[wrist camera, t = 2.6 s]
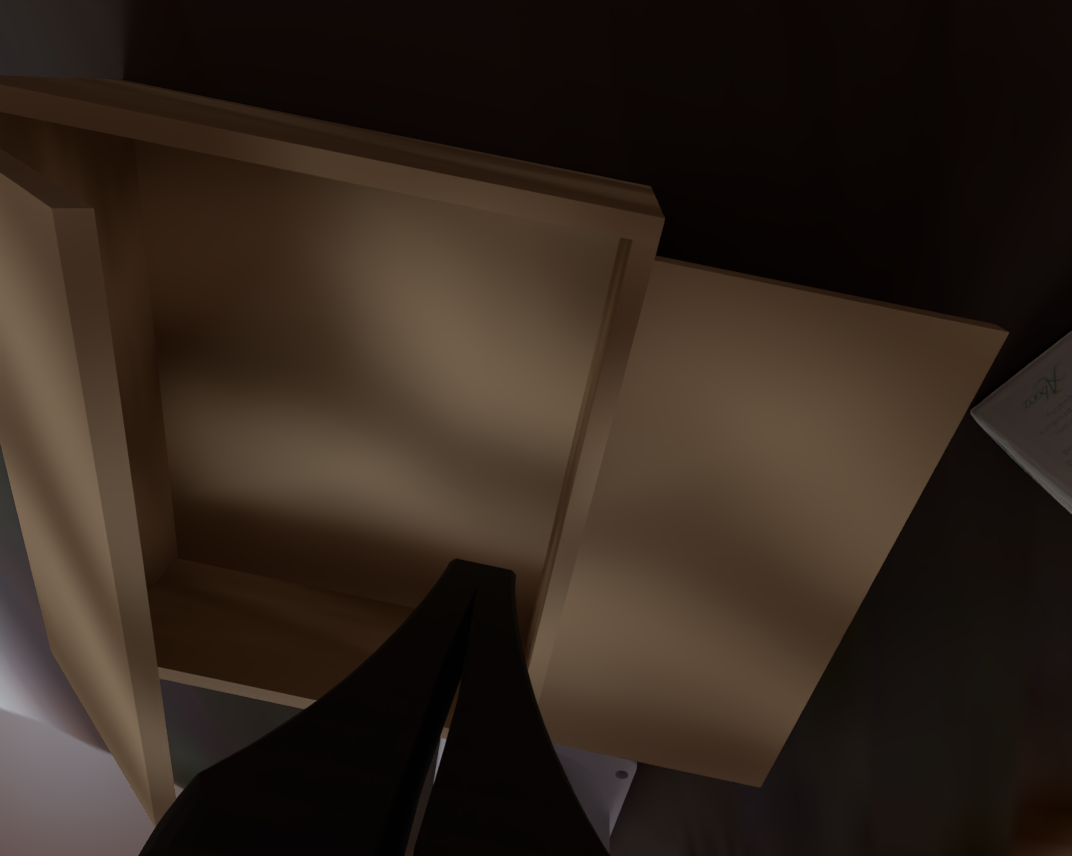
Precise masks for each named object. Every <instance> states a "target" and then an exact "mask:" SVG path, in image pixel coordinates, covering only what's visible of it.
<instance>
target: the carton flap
mask: <svg viewBox="0 0 1072 856" xmlns="http://www.w3.org/2000/svg"><path fill="white" fill-rule="evenodd" d="M0 443H1V448H2V452H3V456H4V460H5V464H6V468H7V472H8V476H9V480H10V484H11V488H12V493H13V497H14V501H15V505H16V509H17V513H18V517H19V521H20V525H21V529H22V534H23V538H24V542H25V546H26V550H27V554H28V558H29V562H30V566H31V570H32V575H33V579H34V583H35V587H36V591H37V595H38V599H39V603H40V607H41V611H42V615H43V620H44V624H45V628H46V632H47V636H48V640H49V644H50V648H51V652H52V654H53V655H54V657H55V659H56V660H57V662H58V664H59V665H60V667H61V669H62V671H63V672H64V674H65V676H66V677H67V679H68V681H69V682H70V684H71V686H72V687H73V689H74V691H75V693H76V694H77V696H78V698H79V699H80V701H81V703H82V704H83V706H84V708H85V709H86V711H87V713H88V715H89V716H90V718H91V720H92V721H93V723H94V725H95V726H96V728H97V730H98V731H99V733H100V735H101V737H102V738H103V740H104V742H105V743H106V745H107V747H108V748H109V750H110V752H111V753H112V755H113V757H114V758H115V760H116V762H117V764H118V765H119V767H120V768H121V770H122V772H123V774H124V775H125V777H126V779H127V780H128V782H129V784H130V785H131V787H132V789H133V790H134V792H135V794H136V796H137V797H138V799H139V801H140V802H141V804H142V806H143V807H144V809H145V811H146V813H147V814H148V816H149V818H150V819H151V821H152V823H153V825H154V826H155V827H156V825H157V824H158V822H159V821H160V820H161V818H162V817H163V815H164V814H165V813H166V811H167V810H168V809H169V808H170V806H171V805H172V804H173V803H174V801H175V800H176V796H175V789H174V781H173V774H172V767H171V760H170V753H169V745H168V738H167V731H166V724H165V717H164V709H163V702H162V695H161V688H160V681H159V673H158V666H157V659H156V652H155V645H154V637H153V630H152V623H151V616H150V609H149V601H148V594H147V587H146V580H145V573H144V566H143V558H142V551H141V544H140V537H139V530H138V522H137V515H136V508H135V501H134V494H133V486H132V479H131V472H130V465H129V458H128V450H127V443H126V436H125V429H124V422H123V414H122V407H121V400H120V393H119V386H118V378H117V371H116V364H115V357H114V350H113V342H112V335H111V328H110V321H109V314H108V306H107V299H106V292H105V285H104V278H103V270H102V263H101V256H100V249H99V242H98V235H97V227H96V220H95V213H94V208H93V207H91V206H90V205H88V204H87V203H85V202H84V201H82V200H80V199H79V198H77V197H76V196H74V195H73V194H71V193H69V192H68V191H66V190H65V189H63V188H62V187H60V186H58V185H57V184H55V183H54V182H52V181H51V180H49V179H48V178H46V177H44V176H43V175H41V174H40V173H38V172H37V171H35V170H33V169H32V168H30V167H29V166H27V165H26V164H24V163H22V162H21V161H19V160H18V159H16V158H15V157H13V156H11V155H10V154H8V153H7V152H5V151H4V150H2V149H1V148H0Z"/></svg>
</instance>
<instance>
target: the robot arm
mask: <svg viewBox="0 0 1072 856" xmlns="http://www.w3.org/2000/svg"><path fill="white" fill-rule="evenodd" d="M515 582H516V575H515V573H514V572H513V571H512V570H509V569H504V568H500V567H495V566H490V565H485V564H481V563H476V562H471V561H466V560H462V559H457V558H456V559H454V560H452V561H450V563H449V564H448V566H447V568H446V569H445V571H444V572H443V574H442V575H441V577H440V578H439V580H438V581H437V583H436V584H435V585H434V587H433V588H432V589H431V590H430V592H429V593H428V594H427V596H426V597H425V598H424V599H423V601H422V602H421V603H420V604H419V605H418V606H417V608H416V609H415V610H414V611H413V612H412V613H411V615H410V616H409V617H408V618H407V619H406V620H405V621H404V622H403V624H402V625H401V626H400V627H399V628H398V629H397V630H396V631H395V632H394V633H393V634H392V635H391V636H390V637H389V638H388V639H387V640H386V641H385V642H384V643H383V644H382V645H381V646H380V647H379V648H378V649H377V650H376V651H375V652H374V653H373V654H372V655H371V656H370V657H369V658H368V659H366V660H365V661H364V662H363V663H362V664H361V665H360V666H359V667H358V668H356V669H355V670H354V671H353V672H352V673H351V674H349V675H348V676H347V677H346V678H345V679H343V680H342V681H341V682H340V683H338V684H337V685H336V686H335V687H333V688H332V689H331V690H329V691H328V692H327V693H326V694H324V695H323V696H322V697H320V698H319V699H318V700H317V701H315V702H314V703H313V704H311V705H310V706H308V707H307V708H306V709H304V710H303V711H301V712H300V713H299V714H297V715H295V716H294V717H292V718H291V719H289V720H288V721H286V722H285V723H283V724H282V725H280V726H279V727H277V728H276V729H274V730H272V731H271V732H269V733H268V734H266V735H265V736H263V737H262V738H260V739H258V740H257V741H255V742H254V743H252V744H250V745H249V746H247V747H245V748H243V749H241V750H239V751H238V752H236V753H234V754H232V755H230V756H229V757H227V758H225V759H223V760H221V761H220V762H218V763H216V764H214V765H212V766H211V767H209V768H207V769H205V770H203V771H201V772H199V773H198V774H197V775H196V776H195V777H194V778H193V779H192V781H191V782H190V783H189V784H188V785H187V786H186V788H185V789H184V790H183V791H182V792H181V794H180V795H179V796H178V797H177V799H176V800H175V801H174V803H173V804H172V805H171V806H170V808H169V809H168V810H167V811H166V813H165V814H164V815H163V817H162V818H161V820H160V821H159V822H158V824H157V825H156V827H155V829H154V831H153V832H152V834H151V836H150V837H149V839H148V841H147V842H146V844H145V845H144V847H143V849H142V851H141V852H140V854H139V855H138V856H404V855H405V851H406V848H407V844H408V840H409V836H410V832H411V828H412V824H413V821H414V817H415V813H416V809H417V805H418V801H419V798H420V795H421V791H422V788H423V785H424V782H425V779H426V775H427V773H428V770H429V767H430V764H431V761H432V759H433V756H434V753H435V750H436V747H437V744H438V742H439V739H440V736H441V733H442V730H443V727H444V725H445V722H446V719H447V716H448V713H449V711H450V708H451V705H452V702H453V699H454V696H455V693H456V691H457V688H458V685H459V682H460V686H459V693H458V699H457V703H456V707H455V710H454V714H453V717H452V721H451V725H450V728H449V732H448V735H447V739H444V738H441V740H440V746H439V752H438V758H437V765H436V771H435V777H434V783H433V788H432V791H431V794H430V798H429V801H428V804H427V808H426V811H425V814H424V818H423V821H422V824H421V828H420V831H419V834H418V837H417V841H416V844H415V848H414V855H413V856H610V835H611V833H612V830H613V828H614V825H615V823H616V820H617V818H618V815H619V812H620V810H621V807H622V805H623V802H624V800H625V797H626V795H627V792H628V790H629V787H630V785H631V782H632V779H633V777H634V774H635V772H636V769H637V761H633V760H628V759H623V758H618V757H614V756H609V755H604V754H600V753H595V752H590V751H585V750H581V749H576V748H571V747H566V746H562V745H557V744H552V742H551V739H550V737H549V734H548V732H547V729H546V727H545V724H544V721H543V718H542V715H541V712H540V710H539V707H538V704H537V701H536V697H535V694H534V691H533V687H532V684H531V680H530V676H529V673H528V669H527V665H526V661H525V656H524V652H523V647H522V642H521V636H520V631H519V625H518V618H517V609H516V597H515ZM460 679H461V680H460Z"/></svg>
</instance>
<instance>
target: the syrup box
mask: <svg viewBox="0 0 1072 856" xmlns="http://www.w3.org/2000/svg"><path fill="white" fill-rule="evenodd" d="M970 413H971V415H972V416H973V417H974V419H975V420H976V422H977V423H978V424H979V425H980V426H981V427H982V428H983V429H984V430H985V431H986V432H987V433H988V434H989V435H990V436H991V437H992V438H993V439H994V440H995V441H996V442H997V443H998V445H999V446H1000V447H1001V448H1002V449H1003V450H1004V451H1005V452H1006V453H1007V454H1008V455H1009V456H1010V457H1011V458H1012V459H1013V460H1014V461H1015V462H1016V463H1017V464H1018V465H1019V466H1020V467H1021V468H1022V469H1023V470H1024V471H1026V472H1027V473H1028V474H1029V475H1030V476H1031V477H1032V478H1033V479H1034V480H1035V481H1036V482H1038V483H1039V484H1040V485H1041V486H1042V487H1043V488H1044V489H1045V490H1046V491H1047V492H1048V493H1049V494H1050V495H1051V496H1052V497H1053V498H1055V499H1056V500H1057V501H1058V502H1059V503H1060V504H1061V505H1062V506H1063V507H1065V508H1066V509H1067V510H1068V511H1069V512H1070V513H1071V514H1072V331H1071V332H1069V333H1068V334H1067V335H1065V336H1064V337H1063V338H1061V339H1060V340H1059V341H1057V342H1056V343H1055V344H1054V345H1053V346H1051V347H1050V348H1049V349H1047V350H1046V351H1045V352H1044V353H1042V354H1041V355H1040V356H1038V357H1037V358H1036V359H1035V360H1033V361H1032V362H1031V363H1029V364H1028V365H1027V366H1026V367H1024V368H1023V369H1022V370H1021V371H1019V372H1018V373H1017V374H1016V375H1014V376H1013V377H1012V378H1011V379H1009V380H1008V381H1007V382H1006V383H1004V384H1003V385H1002V386H1000V387H999V388H998V389H996V390H995V391H994V392H993V393H991V394H990V395H989V396H988V397H986V398H985V399H984V400H983V401H982V402H980V403H979V404H978V405H977V406H975V407H974V408H973V409H972V410H971V411H970Z"/></svg>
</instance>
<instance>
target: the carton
mask: <svg viewBox="0 0 1072 856" xmlns="http://www.w3.org/2000/svg"><path fill="white" fill-rule="evenodd" d="M0 148H1V149H2V150H4V151H5V152H7V153H8V154H10V155H11V156H13V157H15V158H16V159H18V160H19V161H21V162H22V163H24V164H26V165H27V166H29V167H30V168H32V169H33V170H35V171H37V172H38V173H40V174H41V175H43V176H44V177H46V178H48V179H49V180H51V181H52V182H54V183H55V184H57V185H58V186H60V187H62V188H63V189H65V190H66V191H68V192H69V193H71V194H73V195H74V196H76V197H77V198H79V199H80V200H82V201H84V202H85V203H87V204H88V205H90V206H91V207H93V208H94V213H95V220H96V227H97V235H98V242H99V249H100V256H101V263H102V270H103V278H104V285H105V292H106V299H107V306H108V314H109V321H110V328H111V335H112V342H113V350H114V357H115V364H116V371H117V378H118V386H119V393H120V400H121V407H122V414H123V422H124V429H125V436H126V443H127V450H128V458H129V465H130V472H131V479H132V486H133V494H134V501H135V508H136V515H137V522H138V530H139V537H140V544H141V551H142V558H143V566H144V573H145V580H146V587H147V594H148V601H149V609H150V616H151V623H152V630H153V637H154V645H155V652H156V659H157V666H158V673H159V678H160V679H165V680H170V681H174V682H179V683H184V684H189V685H193V686H198V687H203V688H207V689H212V690H217V691H222V692H226V693H231V694H236V695H241V696H245V697H250V698H255V699H259V700H264V701H269V702H274V703H278V704H283V705H288V706H292V707H297V708H302V709H306V708H307V707H308V706H310V705H311V704H313V703H314V702H315V701H317V700H318V699H319V698H320V697H322V696H323V695H324V694H326V693H327V692H328V691H329V690H331V689H332V688H333V687H335V686H336V685H337V684H338V683H340V682H341V681H342V680H343V679H345V678H346V677H347V676H348V675H349V674H351V673H352V672H353V671H354V670H355V669H356V668H358V667H359V666H360V665H361V664H362V663H363V662H364V661H365V660H366V659H368V658H369V657H370V656H371V655H372V654H373V653H374V652H375V651H376V650H377V649H378V648H379V647H380V646H381V645H382V644H383V643H384V642H385V641H386V640H387V639H388V638H389V637H390V636H391V635H392V634H393V633H394V632H395V631H396V630H397V629H398V628H399V627H400V626H401V625H402V624H403V622H404V621H405V620H406V619H407V618H408V617H409V616H410V615H411V613H412V612H413V611H414V610H415V609H416V608H417V606H418V605H419V604H420V603H421V602H422V601H423V599H424V598H425V597H426V596H427V594H428V593H429V592H430V590H431V589H432V588H433V587H434V585H435V584H436V583H437V581H438V580H439V578H440V577H441V575H442V574H443V572H444V571H445V569H446V568H447V566H448V564H449V563H450V561H452V560H454V559H456V558H457V559H462V560H466V561H471V562H476V563H481V564H485V565H490V566H495V567H500V568H504V569H509V570H512V571H513V572H514V573H515V575H516V582H515V597H516V609H517V618H518V625H519V631H520V636H521V642H522V647H523V652H524V656H525V661H526V665H527V669H528V673H529V676H530V680H531V684H532V687H533V691H534V694H535V697H536V701H537V704H538V707H539V710H540V712H541V715H542V718H543V721H544V724H545V727H546V729H547V732H548V734H549V737H550V739H551V742H552V744H557V745H562V746H566V747H571V748H576V749H581V750H585V751H590V752H595V753H600V754H604V755H609V756H614V757H618V758H623V759H628V760H633V761H637V762H642V763H647V764H652V765H656V766H661V767H666V768H670V769H675V770H680V771H685V772H689V773H694V774H699V775H704V776H708V777H713V778H718V779H722V780H727V781H732V782H737V783H741V784H746V785H751V786H756V787H761V786H762V784H763V782H764V780H765V778H766V776H767V775H768V773H769V771H770V769H771V767H772V765H773V764H774V762H775V760H776V758H777V756H778V754H779V753H780V751H781V749H782V747H783V745H784V743H785V742H786V740H787V738H788V736H789V734H790V733H791V731H792V729H793V727H794V725H795V723H796V722H797V720H798V718H799V716H800V714H801V712H802V711H803V709H804V707H805V705H806V703H807V701H808V700H809V698H810V696H811V694H812V692H813V690H814V689H815V687H816V685H817V683H818V681H819V679H820V678H821V676H822V674H823V672H824V670H825V669H826V667H827V665H828V663H829V661H830V659H831V658H832V656H833V654H834V652H835V650H836V648H837V647H838V645H839V643H840V641H841V639H842V637H843V636H844V634H845V632H846V630H847V628H848V626H849V625H850V623H851V621H852V619H853V617H854V615H855V614H856V612H857V610H858V608H859V606H860V605H861V603H862V601H863V599H864V597H865V595H866V594H867V592H868V590H869V588H870V586H871V584H872V583H873V581H874V579H875V577H876V575H877V573H878V572H879V570H880V568H881V566H882V564H883V562H884V561H885V559H886V557H887V555H888V553H889V552H890V550H891V548H892V546H893V544H894V542H895V541H896V539H897V537H898V535H899V533H900V531H901V530H902V528H903V526H904V524H905V522H906V520H907V519H908V517H909V515H910V513H911V511H912V509H913V508H914V506H915V504H916V502H917V500H918V498H919V497H920V495H921V493H922V491H923V489H924V488H925V486H926V484H927V482H928V480H929V478H930V477H931V475H932V473H933V471H934V469H935V467H936V466H937V464H938V462H939V460H940V458H941V456H942V455H943V453H944V451H945V449H946V447H947V445H948V444H949V442H950V440H951V438H952V436H953V435H954V433H955V431H956V429H957V427H958V425H959V424H960V422H961V420H962V418H963V416H964V414H965V413H966V411H967V409H968V407H969V405H970V403H971V402H972V400H973V398H974V396H975V394H976V392H977V391H978V389H979V387H980V385H981V383H982V381H983V380H984V378H985V376H986V374H987V372H988V371H989V369H990V367H991V365H992V363H993V361H994V360H995V358H996V356H997V354H998V352H999V350H1000V349H1001V347H1002V345H1003V343H1004V341H1005V339H1006V338H1007V336H1008V334H1009V332H1008V331H1006V330H1004V329H1003V328H1001V327H999V326H998V325H996V324H991V323H986V322H981V321H976V320H971V319H966V318H961V317H957V316H952V315H947V314H942V313H937V312H932V311H927V310H922V309H917V308H912V307H907V306H902V305H897V304H892V303H887V302H883V301H878V300H873V299H868V298H863V297H858V296H853V295H848V294H843V293H838V292H833V291H828V290H823V289H818V288H813V287H809V286H804V285H799V284H794V283H789V282H784V281H779V280H774V279H769V278H764V277H759V276H754V275H749V274H744V273H739V272H735V271H730V270H725V269H720V268H715V267H710V266H705V265H700V264H695V263H690V262H685V261H680V260H675V259H670V258H665V257H661V256H656V252H657V248H658V244H659V240H660V237H661V233H662V229H663V225H664V221H665V217H664V215H663V213H662V210H661V208H660V206H659V203H658V201H657V199H656V197H655V194H654V192H653V190H652V188H651V186H647V185H642V184H637V183H632V182H627V181H622V180H617V179H612V178H607V177H602V176H597V175H592V174H587V173H582V172H577V171H573V170H568V169H563V168H558V167H553V166H548V165H543V164H538V163H533V162H528V161H523V160H518V159H513V158H508V157H503V156H498V155H493V154H488V153H483V152H478V151H473V150H468V149H463V148H458V147H453V146H448V145H443V144H439V143H434V142H429V141H424V140H419V139H414V138H409V137H404V136H399V135H394V134H389V133H384V132H379V131H374V130H369V129H364V128H359V127H354V126H349V125H344V124H339V123H334V122H329V121H324V120H319V119H314V118H309V117H305V116H300V115H295V114H290V113H285V112H280V111H275V110H270V109H265V108H260V107H255V106H250V105H245V104H240V103H235V102H230V101H225V100H220V99H215V98H210V97H205V96H200V95H195V94H190V93H185V92H180V91H175V90H171V89H166V88H161V87H156V86H151V85H146V84H141V83H136V82H131V81H126V80H117V79H89V78H60V77H32V76H3V75H0ZM460 680H461V679H460ZM459 686H460V682H459V685H458V688H457V691H456V693H455V696H454V699H453V702H452V705H451V708H450V711H449V713H448V716H447V719H446V722H445V725H444V727H443V730H442V733H441V736H440V738H444V739H447V735H448V732H449V728H450V725H451V721H452V717H453V714H454V710H455V707H456V703H457V699H458V693H459Z"/></svg>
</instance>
